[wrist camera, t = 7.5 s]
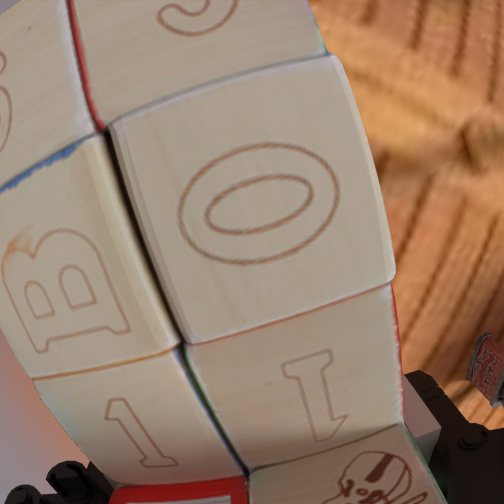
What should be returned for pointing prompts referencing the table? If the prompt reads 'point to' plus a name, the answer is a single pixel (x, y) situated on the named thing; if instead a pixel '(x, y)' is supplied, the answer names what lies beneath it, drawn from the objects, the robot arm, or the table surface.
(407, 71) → the table surface
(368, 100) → the table surface
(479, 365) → the lighter
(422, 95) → the table surface
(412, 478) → the stack of blocks
